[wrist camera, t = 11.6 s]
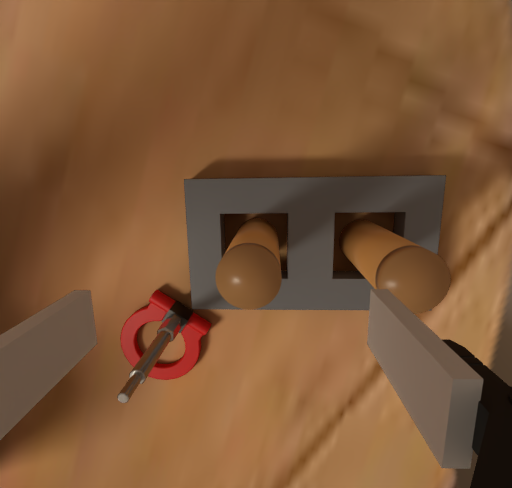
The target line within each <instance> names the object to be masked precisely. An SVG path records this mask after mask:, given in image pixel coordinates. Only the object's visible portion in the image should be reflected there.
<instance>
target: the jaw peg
mask: <svg viewBox="0 0 512 488" xmlns="http://www.w3.org/2000/svg"><path fill="white" fill-rule="evenodd" d="M215 278H216V285H217V288H218V290H219V293H220V294H221V296H222V297H223V298H224V299H225V300H226V301H227V302H228V303H230V304H231V305H233V306H235V307H238V308H241V309H248V310H251V309H258V308H261V307H263V306H265V305H267V304H268V303H270V302H271V301H272V300H273V299H274V298H275V297H276V295H277V294H278V292H279V290H280V286H281V281H282V277H281V265H280V254H279V243H278V234H277V231H276V229H275V227H274V226H273V225H272V224H271V223H270V222H268V221H267V220H264V219H259V218H255V219H250V220H248V221H246V222H245V223H244V224H243V225H242V226H241V227H240V228H239V230H238V232H237V234H236V235H235V237H234V239H233V240H232V242H231V244H230V245H229V247H228V249H227V250H226V252H225V254H224V256H223V257H222V259H221V261H220V262H219V264H218V267H217V270H216V276H215Z"/></svg>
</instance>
